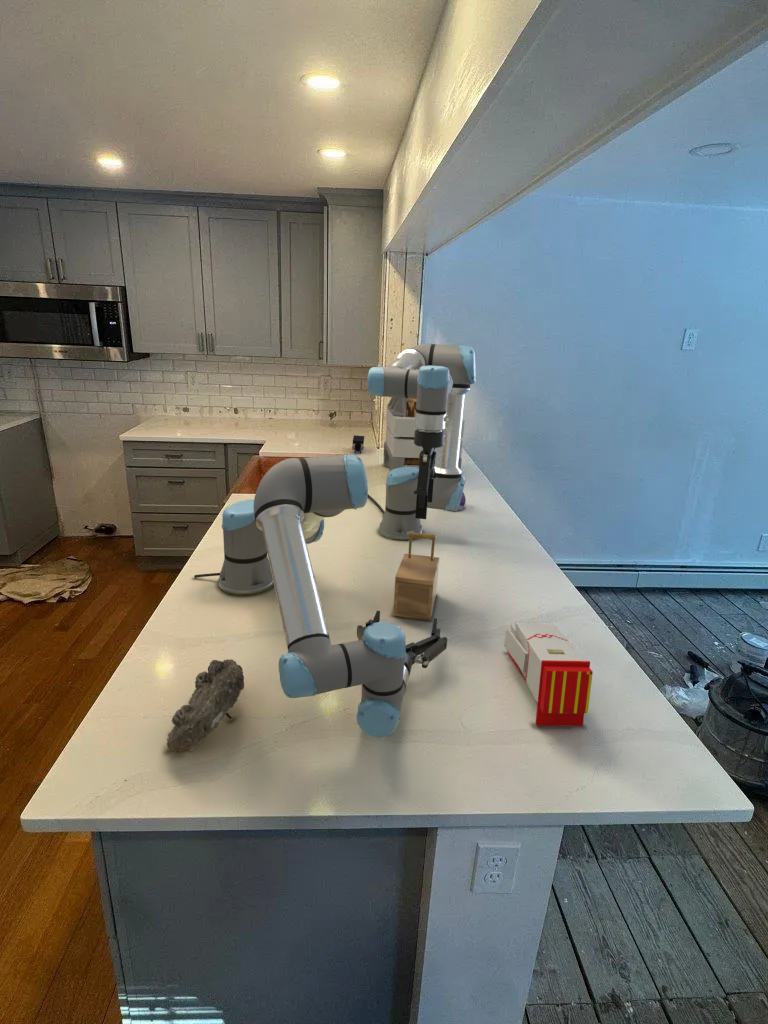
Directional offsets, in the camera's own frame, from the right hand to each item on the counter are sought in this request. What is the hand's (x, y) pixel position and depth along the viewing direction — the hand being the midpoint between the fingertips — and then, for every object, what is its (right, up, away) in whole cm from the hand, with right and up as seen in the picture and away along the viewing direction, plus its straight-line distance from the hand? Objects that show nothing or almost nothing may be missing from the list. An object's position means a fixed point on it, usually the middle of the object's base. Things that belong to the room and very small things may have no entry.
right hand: (424, 509), depth 149 cm
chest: (-2, -26, +4) cm, 26 cm away
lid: (-2, -16, 0) cm, 16 cm away
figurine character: (-25, +33, +162) cm, 167 cm away
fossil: (-43, -40, -41) cm, 72 cm away
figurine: (+18, +1, +80) cm, 82 cm away
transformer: (+7, +18, +126) cm, 128 cm away
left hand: (-5, -26, -16) cm, 31 cm away
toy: (+23, -38, -27) cm, 51 cm away
